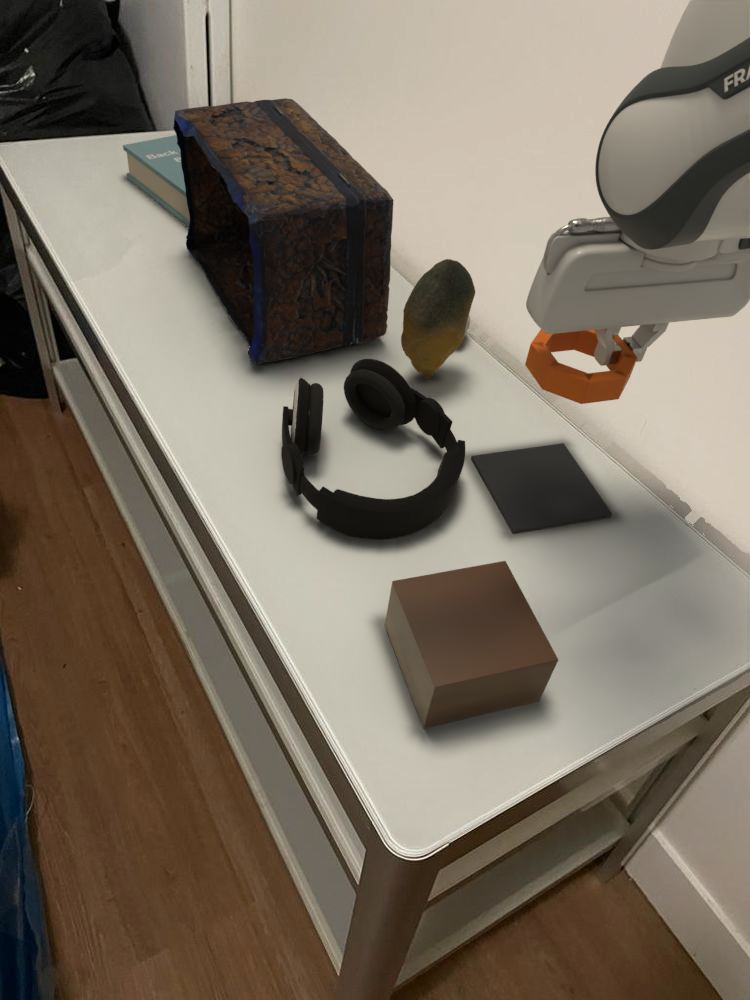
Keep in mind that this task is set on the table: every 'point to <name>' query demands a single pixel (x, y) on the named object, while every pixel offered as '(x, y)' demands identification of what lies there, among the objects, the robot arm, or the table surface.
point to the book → (159, 173)
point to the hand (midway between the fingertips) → (616, 360)
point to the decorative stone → (437, 315)
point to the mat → (540, 487)
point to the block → (467, 643)
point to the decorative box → (285, 227)
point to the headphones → (382, 406)
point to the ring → (573, 380)
